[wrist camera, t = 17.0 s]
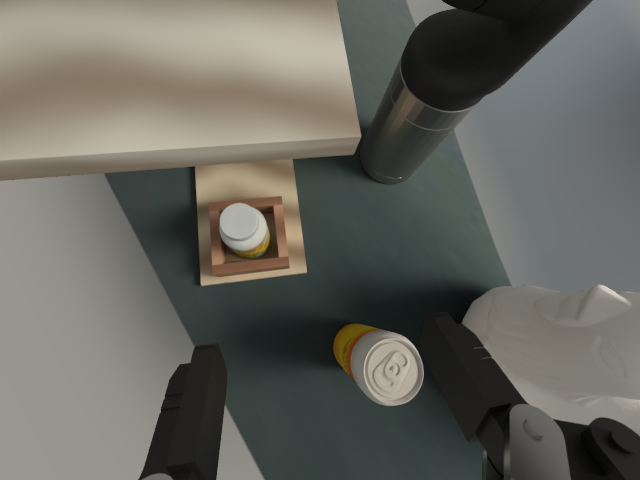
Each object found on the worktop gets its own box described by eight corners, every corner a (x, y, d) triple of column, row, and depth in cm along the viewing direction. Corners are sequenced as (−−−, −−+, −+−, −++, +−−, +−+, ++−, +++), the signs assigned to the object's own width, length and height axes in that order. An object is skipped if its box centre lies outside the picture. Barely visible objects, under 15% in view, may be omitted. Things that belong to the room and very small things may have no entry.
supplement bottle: (274, 225, 40) (269, 201, 31) (266, 262, 39) (259, 249, 30) (235, 218, 40) (219, 192, 31) (226, 256, 39) (207, 240, 29)
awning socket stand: (313, 272, 40) (371, 191, 12) (195, 287, 38) (-82, 232, 10) (297, 147, 44) (310, -138, 16) (189, 154, 42) (-19, -158, 14)
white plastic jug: (419, 318, 41) (609, 336, 16) (502, 266, 44) (765, 217, 20) (523, 494, 37) (964, 850, 13) (606, 423, 40) (1087, 602, 16)
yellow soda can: (323, 349, 38) (343, 376, 24) (351, 313, 40) (386, 318, 25) (358, 380, 38) (401, 427, 23) (385, 343, 39) (441, 364, 25)
